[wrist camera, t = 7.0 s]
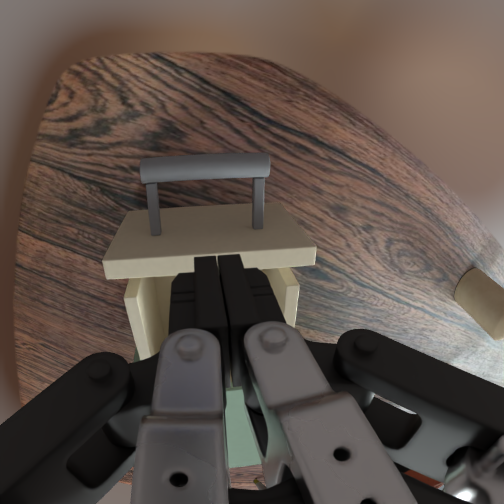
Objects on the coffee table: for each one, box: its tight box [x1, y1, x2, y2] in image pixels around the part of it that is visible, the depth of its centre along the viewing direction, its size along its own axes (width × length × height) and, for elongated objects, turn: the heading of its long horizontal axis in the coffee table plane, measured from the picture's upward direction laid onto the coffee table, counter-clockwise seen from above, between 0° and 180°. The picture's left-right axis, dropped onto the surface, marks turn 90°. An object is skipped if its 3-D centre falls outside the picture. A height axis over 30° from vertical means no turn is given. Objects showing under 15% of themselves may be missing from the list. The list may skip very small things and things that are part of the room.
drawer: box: [102, 153, 317, 382], centre depth 21 cm, size 17×11×8 cm
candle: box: [454, 268, 504, 341], centre depth 29 cm, size 6×6×10 cm
